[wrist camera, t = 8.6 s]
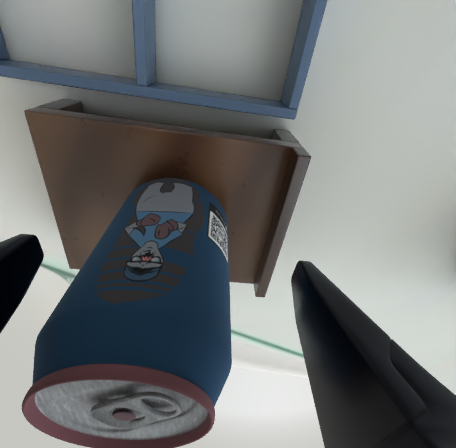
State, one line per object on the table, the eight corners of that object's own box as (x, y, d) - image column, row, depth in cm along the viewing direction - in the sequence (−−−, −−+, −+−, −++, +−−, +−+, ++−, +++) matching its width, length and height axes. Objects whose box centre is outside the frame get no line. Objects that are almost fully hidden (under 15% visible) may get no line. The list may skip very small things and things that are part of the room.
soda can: (166, 265, 20) (112, 467, 10) (105, 197, 17) (-62, 406, 7) (243, 232, 19) (268, 436, 9) (194, 150, 15) (141, 335, 5)
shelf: (289, 130, 19) (311, 156, 14) (256, 253, 25) (264, 297, 21) (63, 98, 17) (4, 115, 13) (91, 237, 24) (60, 282, 19)
